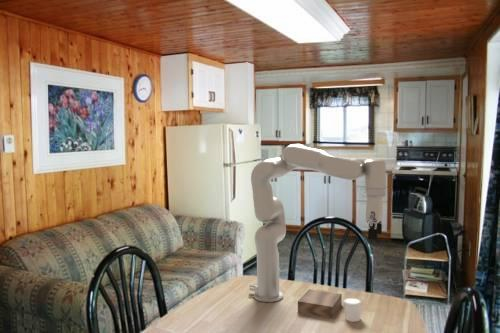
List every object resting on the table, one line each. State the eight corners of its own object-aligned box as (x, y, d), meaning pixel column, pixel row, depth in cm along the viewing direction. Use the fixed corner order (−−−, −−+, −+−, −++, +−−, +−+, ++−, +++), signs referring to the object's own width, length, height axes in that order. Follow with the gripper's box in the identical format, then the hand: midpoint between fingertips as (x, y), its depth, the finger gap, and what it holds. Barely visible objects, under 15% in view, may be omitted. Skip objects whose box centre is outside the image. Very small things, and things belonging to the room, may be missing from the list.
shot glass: (362, 323, 168) (362, 304, 167) (343, 321, 169) (343, 303, 168) (361, 315, 174) (361, 297, 174) (343, 314, 176) (343, 296, 175)
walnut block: (297, 313, 178) (297, 301, 178) (308, 300, 191) (308, 289, 190) (332, 319, 172) (332, 306, 171) (341, 305, 184) (341, 294, 184)
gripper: (369, 188, 180) (369, 230, 181) (360, 194, 164) (360, 240, 166) (389, 189, 176) (388, 232, 178) (381, 196, 161) (381, 242, 162)
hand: (375, 236), depth 172 cm, fingers open, 9 cm apart
